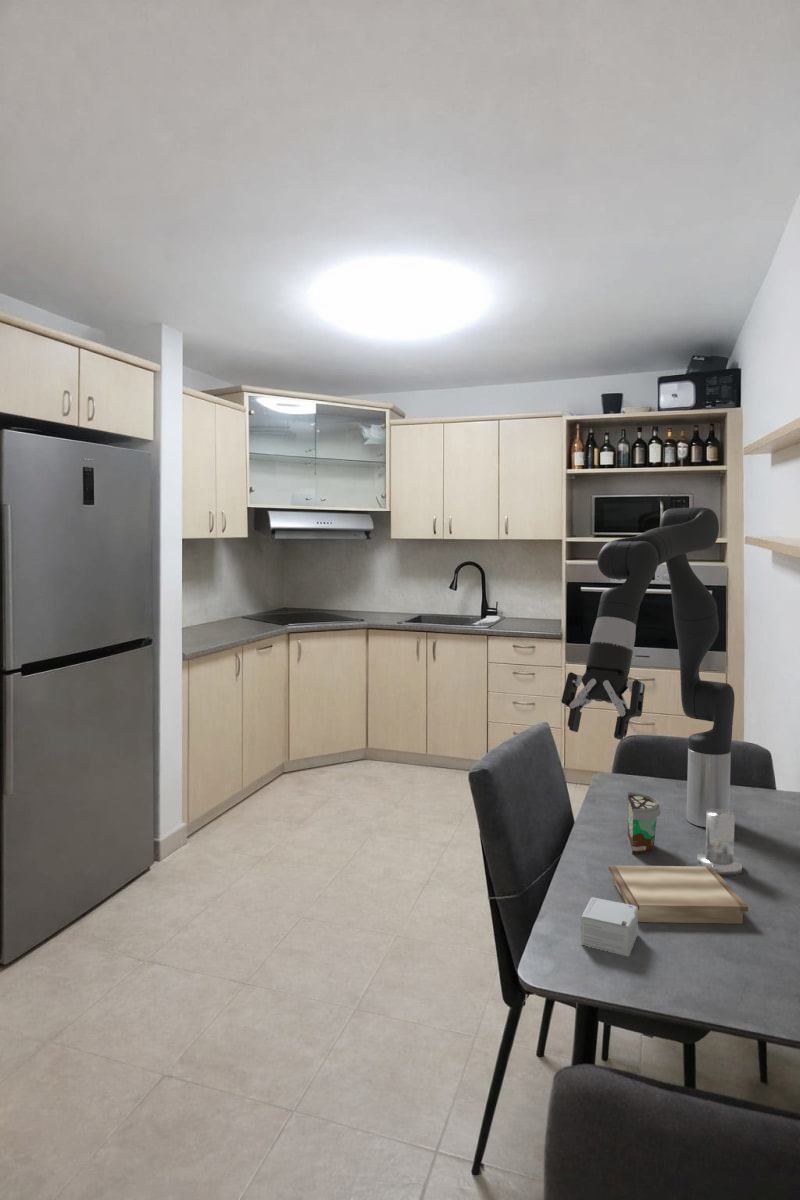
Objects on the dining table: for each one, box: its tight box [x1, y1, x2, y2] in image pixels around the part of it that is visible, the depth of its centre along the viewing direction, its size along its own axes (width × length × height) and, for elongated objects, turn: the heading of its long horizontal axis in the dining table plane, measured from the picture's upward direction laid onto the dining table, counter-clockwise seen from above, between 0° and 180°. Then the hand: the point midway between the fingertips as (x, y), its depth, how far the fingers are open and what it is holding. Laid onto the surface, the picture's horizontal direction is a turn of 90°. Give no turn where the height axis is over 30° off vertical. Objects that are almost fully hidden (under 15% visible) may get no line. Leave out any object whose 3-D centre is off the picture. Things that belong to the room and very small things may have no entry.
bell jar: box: [696, 809, 743, 877], centre depth 149 cm, size 8×8×11 cm
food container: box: [626, 791, 661, 855], centre depth 159 cm, size 12×6×10 cm, turn 168°
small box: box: [580, 896, 639, 957], centre depth 121 cm, size 8×8×5 cm
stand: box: [608, 864, 749, 925], centre depth 135 cm, size 16×20×3 cm
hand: (595, 735), depth 130 cm, fingers open, 8 cm apart
